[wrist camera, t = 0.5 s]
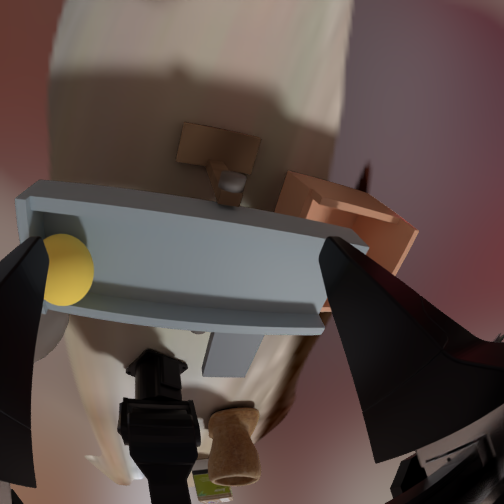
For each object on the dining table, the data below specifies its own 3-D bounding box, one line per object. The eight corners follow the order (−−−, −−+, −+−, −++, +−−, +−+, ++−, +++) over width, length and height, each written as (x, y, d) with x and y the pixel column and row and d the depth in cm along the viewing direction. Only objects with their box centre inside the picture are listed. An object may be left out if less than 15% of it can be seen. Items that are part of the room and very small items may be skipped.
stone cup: (197, 406, 42) (213, 483, 30) (262, 399, 45) (286, 470, 33) (196, 433, 50) (209, 493, 38) (249, 428, 53) (266, 484, 41)
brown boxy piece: (254, 270, 28) (279, 328, 22) (287, 170, 23) (332, 208, 17) (330, 276, 31) (364, 324, 25) (367, 193, 26) (419, 230, 20)
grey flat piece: (67, 350, 20) (61, 376, 17) (39, 179, 12) (14, 198, 10) (278, 368, 26) (286, 392, 24) (351, 228, 19) (373, 251, 16)
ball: (90, 289, 16) (63, 331, 12) (46, 251, 14) (13, 287, 11) (115, 252, 14) (84, 295, 11) (66, 208, 13) (24, 241, 9)
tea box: (225, 465, 73) (234, 500, 61) (196, 468, 71) (204, 504, 59) (221, 456, 65) (232, 498, 53) (188, 460, 62) (197, 502, 50)
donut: (18, 302, 23) (-8, 370, 15) (5, 279, 21) (-29, 347, 13) (84, 293, 25) (64, 373, 16) (72, 267, 23) (42, 347, 15)
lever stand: (158, 280, 26) (157, 345, 19) (184, 121, 19) (185, 138, 12) (217, 285, 28) (232, 347, 21) (258, 136, 21) (296, 162, 14)
